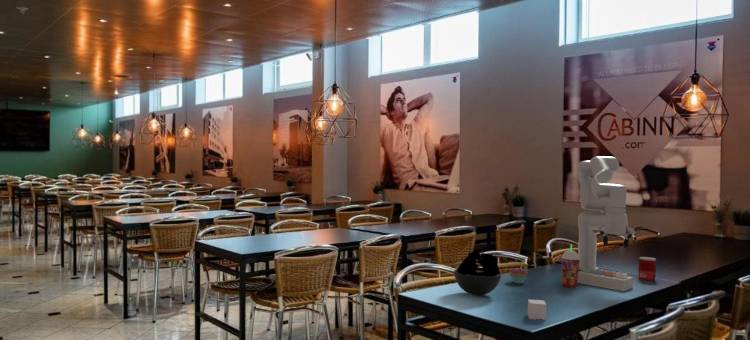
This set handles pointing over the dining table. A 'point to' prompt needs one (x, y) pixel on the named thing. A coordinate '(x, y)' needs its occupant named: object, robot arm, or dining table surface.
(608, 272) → the key terracotta
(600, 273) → the key slate
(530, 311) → the grey cube
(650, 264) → the canned food
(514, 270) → the cupcake
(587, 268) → the key sage
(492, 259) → the coal bowl
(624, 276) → the key ivory
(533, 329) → the dining table surface
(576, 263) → the smoothie
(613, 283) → the keypad
